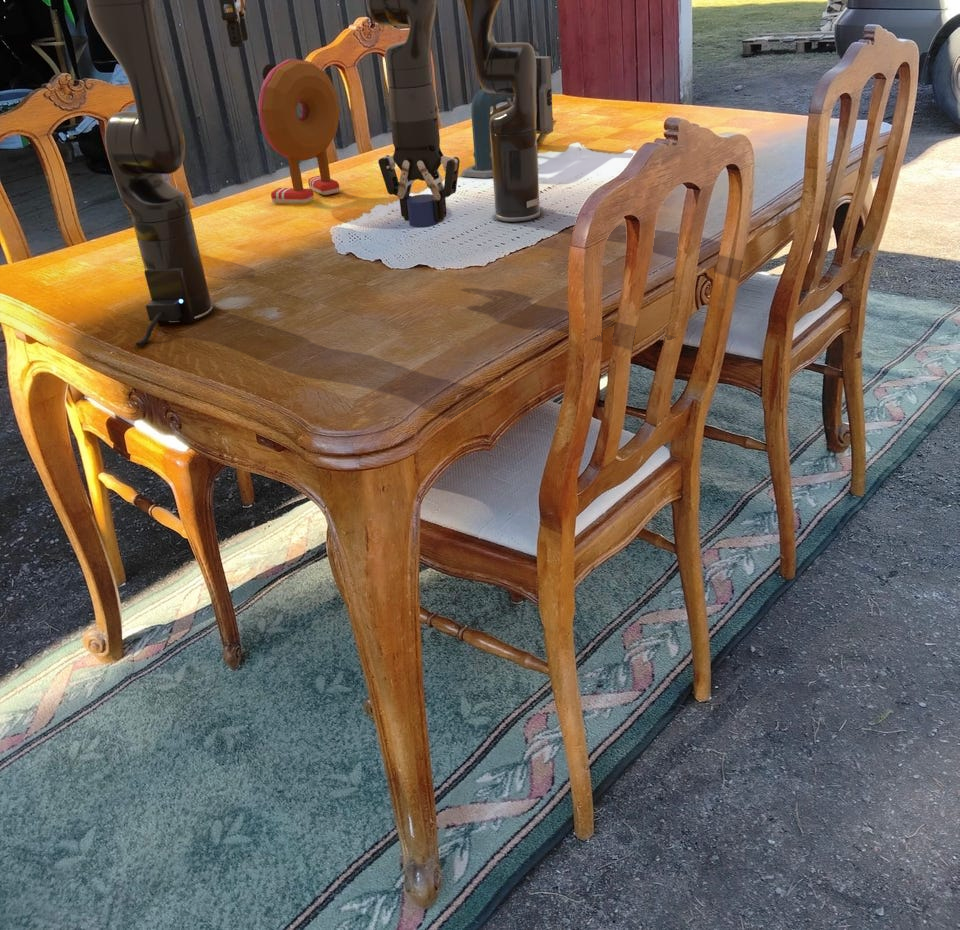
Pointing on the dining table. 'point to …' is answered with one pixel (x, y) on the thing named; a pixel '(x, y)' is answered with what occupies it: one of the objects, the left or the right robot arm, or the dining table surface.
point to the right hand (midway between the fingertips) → (424, 220)
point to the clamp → (486, 101)
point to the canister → (421, 211)
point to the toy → (299, 124)
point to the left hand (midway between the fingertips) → (239, 43)
